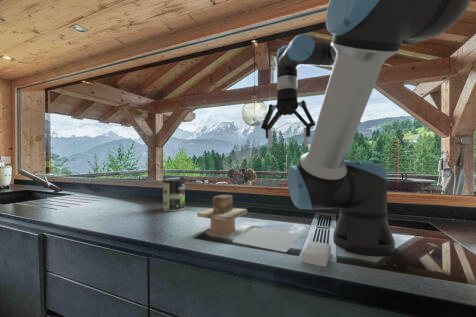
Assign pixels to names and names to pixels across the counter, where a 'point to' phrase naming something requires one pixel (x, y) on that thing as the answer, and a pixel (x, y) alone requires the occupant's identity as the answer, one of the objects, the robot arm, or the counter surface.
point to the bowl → (222, 226)
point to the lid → (222, 209)
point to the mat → (268, 239)
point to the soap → (316, 253)
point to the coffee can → (173, 194)
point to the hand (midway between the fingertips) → (287, 146)
